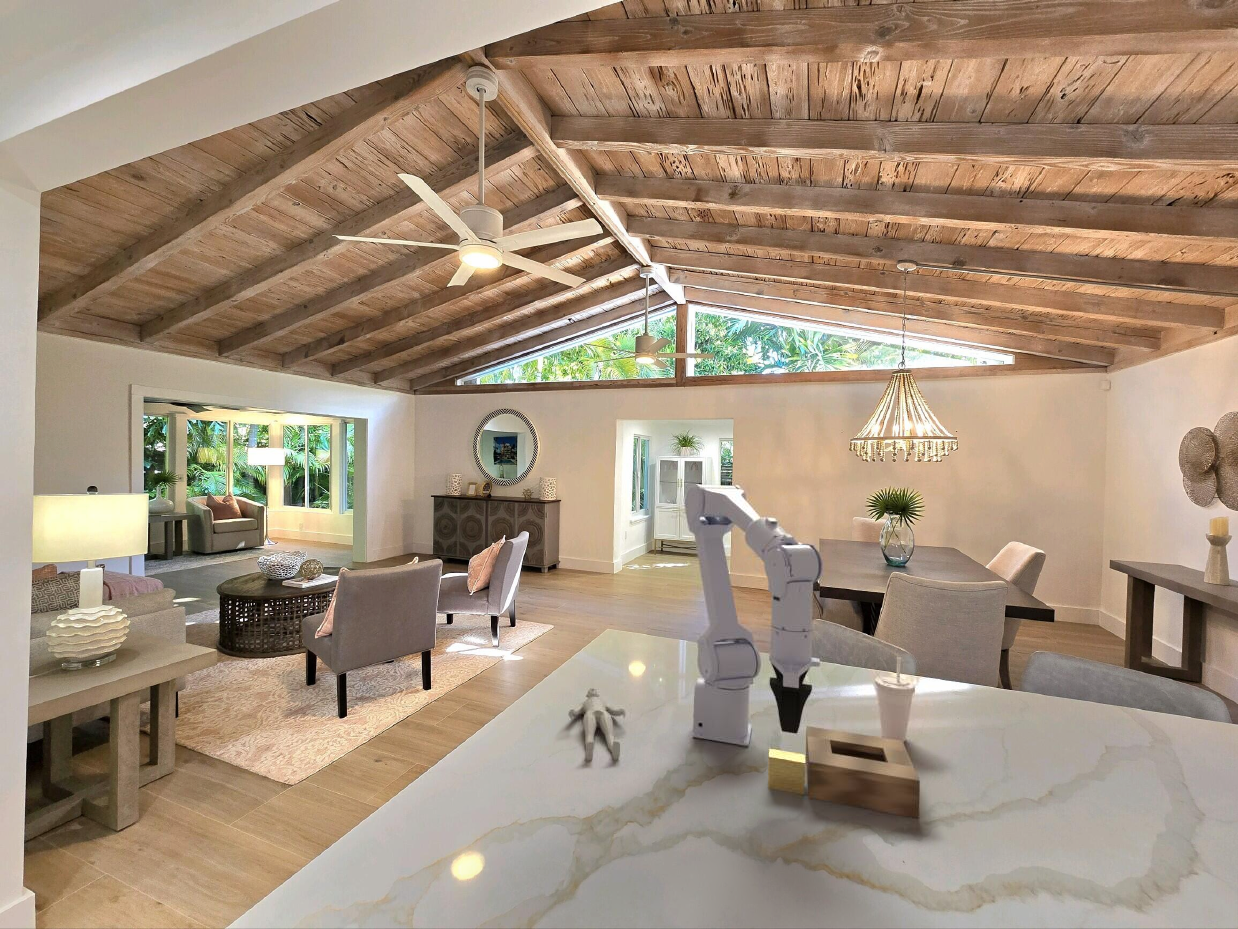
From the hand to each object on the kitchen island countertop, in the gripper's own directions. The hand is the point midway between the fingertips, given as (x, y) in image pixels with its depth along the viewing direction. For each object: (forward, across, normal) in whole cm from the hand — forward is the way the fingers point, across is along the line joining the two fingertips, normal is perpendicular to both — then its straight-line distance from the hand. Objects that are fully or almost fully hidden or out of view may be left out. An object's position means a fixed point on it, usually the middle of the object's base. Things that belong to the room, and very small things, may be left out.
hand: (789, 720), depth 81 cm
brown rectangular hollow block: (+10, +4, -10) cm, 14 cm away
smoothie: (+10, +23, -18) cm, 31 cm away
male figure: (+10, +8, +32) cm, 35 cm away
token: (+10, 0, 0) cm, 10 cm away
